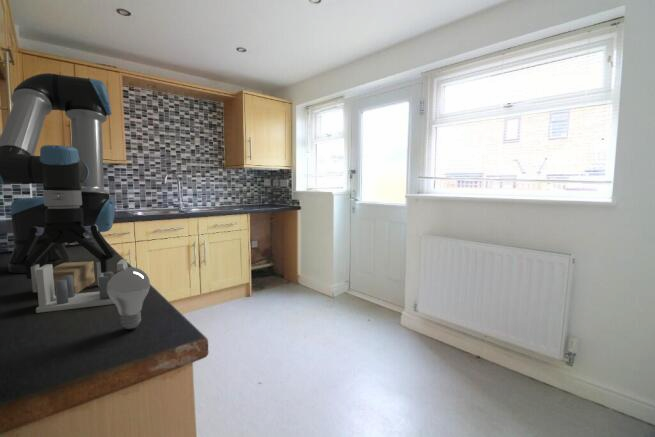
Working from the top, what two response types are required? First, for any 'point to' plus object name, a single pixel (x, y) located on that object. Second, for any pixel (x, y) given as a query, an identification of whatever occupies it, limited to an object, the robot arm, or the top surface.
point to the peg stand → (69, 291)
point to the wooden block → (75, 274)
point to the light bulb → (128, 294)
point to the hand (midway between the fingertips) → (70, 287)
